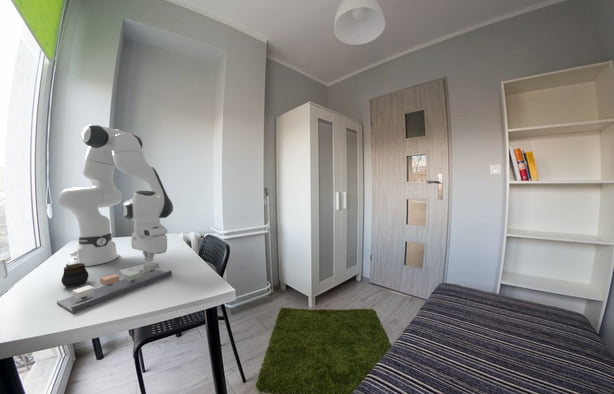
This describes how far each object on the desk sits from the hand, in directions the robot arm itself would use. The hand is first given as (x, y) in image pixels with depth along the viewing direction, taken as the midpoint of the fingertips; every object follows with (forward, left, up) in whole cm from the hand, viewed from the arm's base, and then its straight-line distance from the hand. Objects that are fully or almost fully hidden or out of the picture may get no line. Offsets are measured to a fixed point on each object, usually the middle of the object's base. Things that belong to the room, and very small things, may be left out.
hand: (149, 261), depth 89 cm
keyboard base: (0, -10, -7) cm, 12 cm away
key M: (0, +1, -5) cm, 5 cm away
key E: (0, -13, -5) cm, 14 cm away
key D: (0, -6, -6) cm, 9 cm away
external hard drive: (-15, +3, -8) cm, 17 cm away
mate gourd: (-20, -16, -8) cm, 27 cm away
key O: (0, -20, -6) cm, 21 cm away
